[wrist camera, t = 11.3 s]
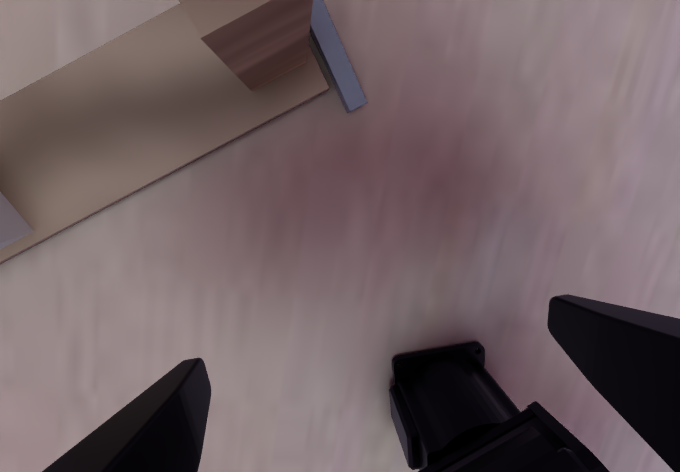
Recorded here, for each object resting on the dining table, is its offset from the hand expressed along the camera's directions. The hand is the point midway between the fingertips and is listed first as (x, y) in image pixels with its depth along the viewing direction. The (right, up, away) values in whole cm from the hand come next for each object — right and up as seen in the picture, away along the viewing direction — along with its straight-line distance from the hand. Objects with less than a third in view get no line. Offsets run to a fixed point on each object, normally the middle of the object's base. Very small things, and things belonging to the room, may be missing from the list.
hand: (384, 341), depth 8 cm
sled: (-13, +8, +8) cm, 17 cm away
